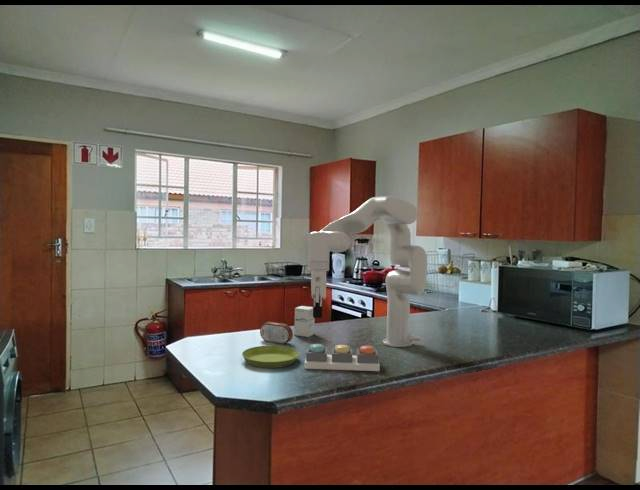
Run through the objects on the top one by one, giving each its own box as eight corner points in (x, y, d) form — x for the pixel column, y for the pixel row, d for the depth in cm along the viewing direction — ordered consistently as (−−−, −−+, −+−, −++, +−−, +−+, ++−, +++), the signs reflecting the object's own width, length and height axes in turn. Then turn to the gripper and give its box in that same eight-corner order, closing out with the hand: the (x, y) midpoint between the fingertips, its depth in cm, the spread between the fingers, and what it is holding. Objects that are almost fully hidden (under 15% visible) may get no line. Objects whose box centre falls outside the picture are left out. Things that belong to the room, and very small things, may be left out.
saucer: (250, 373, 146) (250, 364, 146) (236, 356, 165) (236, 348, 165) (307, 366, 154) (307, 357, 154) (288, 351, 173) (288, 343, 173)
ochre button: (348, 353, 159) (349, 345, 159) (349, 357, 154) (349, 348, 154) (335, 352, 159) (335, 344, 159) (334, 356, 154) (335, 348, 154)
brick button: (373, 354, 158) (373, 345, 158) (374, 358, 153) (375, 349, 153) (359, 353, 159) (360, 345, 158) (360, 357, 154) (360, 349, 153)
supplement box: (293, 335, 198) (294, 307, 198) (300, 332, 205) (300, 305, 205) (308, 337, 195) (309, 309, 195) (314, 333, 202) (315, 306, 202)
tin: (293, 343, 184) (293, 324, 184) (289, 345, 181) (289, 325, 181) (262, 339, 190) (262, 320, 190) (258, 341, 187) (259, 321, 187)
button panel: (376, 361, 161) (377, 348, 161) (379, 371, 150) (379, 356, 150) (306, 359, 163) (307, 345, 162) (304, 368, 152) (304, 354, 151)
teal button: (324, 352, 159) (324, 344, 159) (323, 356, 154) (323, 347, 154) (310, 351, 159) (310, 343, 159) (309, 355, 154) (309, 347, 154)
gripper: (328, 268, 148) (327, 322, 149) (329, 264, 163) (328, 313, 164) (306, 267, 148) (305, 321, 149) (309, 264, 163) (308, 313, 164)
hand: (317, 317), depth 156 cm, fingers closed
